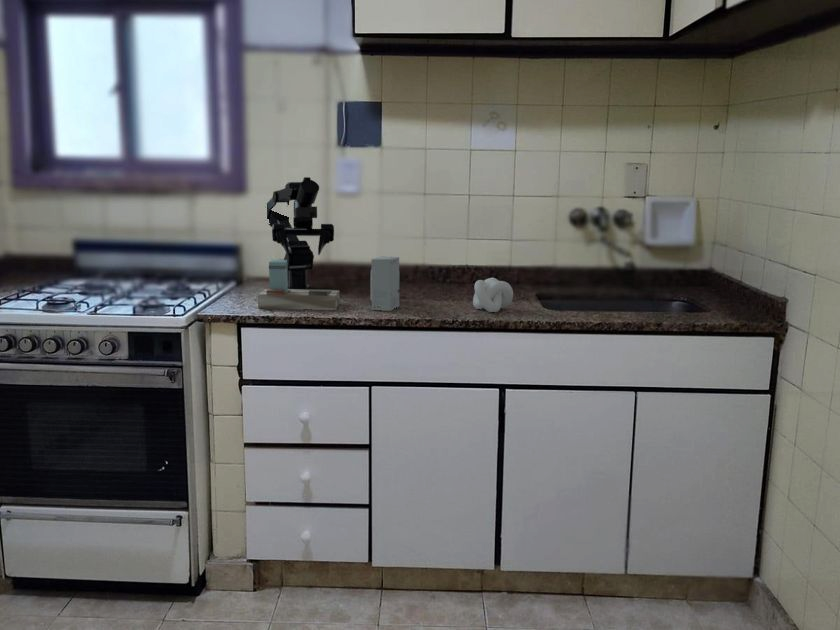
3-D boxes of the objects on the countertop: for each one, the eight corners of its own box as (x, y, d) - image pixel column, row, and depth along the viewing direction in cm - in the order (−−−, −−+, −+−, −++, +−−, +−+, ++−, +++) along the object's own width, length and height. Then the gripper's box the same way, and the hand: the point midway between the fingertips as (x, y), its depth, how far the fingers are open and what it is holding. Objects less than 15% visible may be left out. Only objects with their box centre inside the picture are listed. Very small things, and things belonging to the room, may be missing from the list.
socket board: (265, 301, 227) (265, 284, 226) (339, 303, 226) (339, 286, 225) (258, 308, 217) (257, 290, 216) (335, 310, 216) (335, 292, 215)
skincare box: (390, 312, 215) (390, 259, 212) (370, 310, 217) (370, 258, 214) (400, 306, 223) (400, 256, 220) (380, 305, 225) (381, 255, 222)
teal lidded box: (272, 302, 224) (271, 259, 221) (288, 302, 224) (287, 260, 221) (269, 305, 219) (268, 262, 217) (286, 305, 219) (285, 262, 217)
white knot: (510, 306, 226) (511, 276, 224) (514, 314, 214) (516, 283, 213) (472, 305, 226) (473, 276, 224) (474, 314, 214) (475, 282, 213)
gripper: (271, 197, 231) (270, 237, 222) (333, 197, 233) (335, 237, 225) (273, 221, 240) (272, 260, 231) (332, 221, 242) (334, 260, 234)
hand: (303, 254), depth 230 cm, fingers open, 9 cm apart
